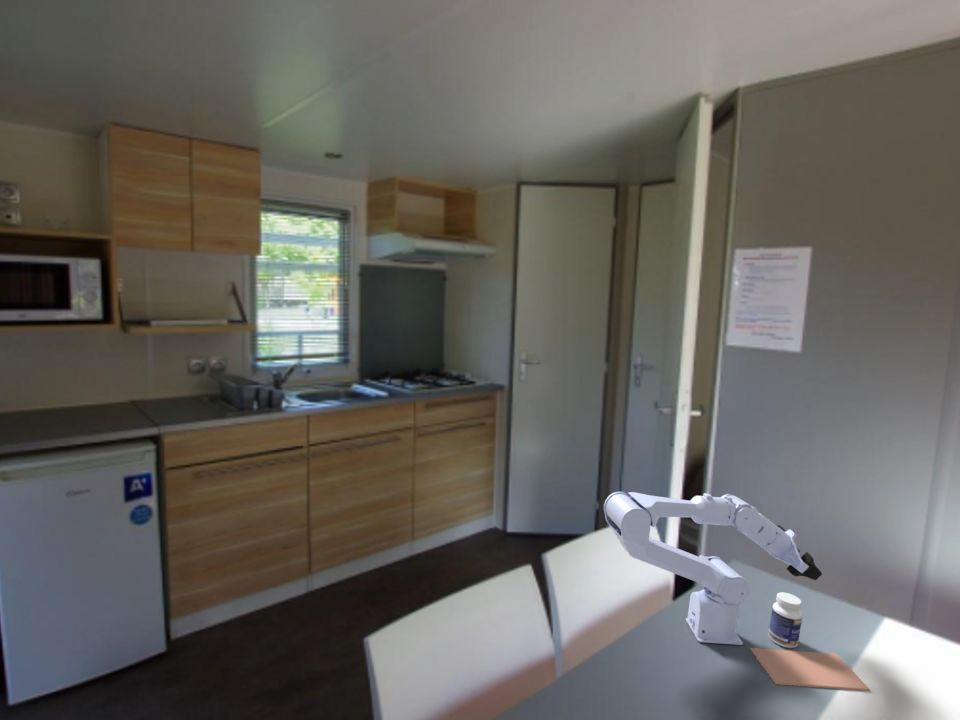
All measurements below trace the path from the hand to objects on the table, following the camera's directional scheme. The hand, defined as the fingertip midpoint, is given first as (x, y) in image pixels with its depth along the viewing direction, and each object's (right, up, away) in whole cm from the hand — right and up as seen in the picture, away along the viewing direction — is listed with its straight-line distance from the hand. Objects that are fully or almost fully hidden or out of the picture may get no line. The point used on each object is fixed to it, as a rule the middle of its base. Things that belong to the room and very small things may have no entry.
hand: (806, 564), depth 119 cm
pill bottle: (-7, -16, -3) cm, 17 cm away
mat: (-7, -17, -11) cm, 21 cm away
